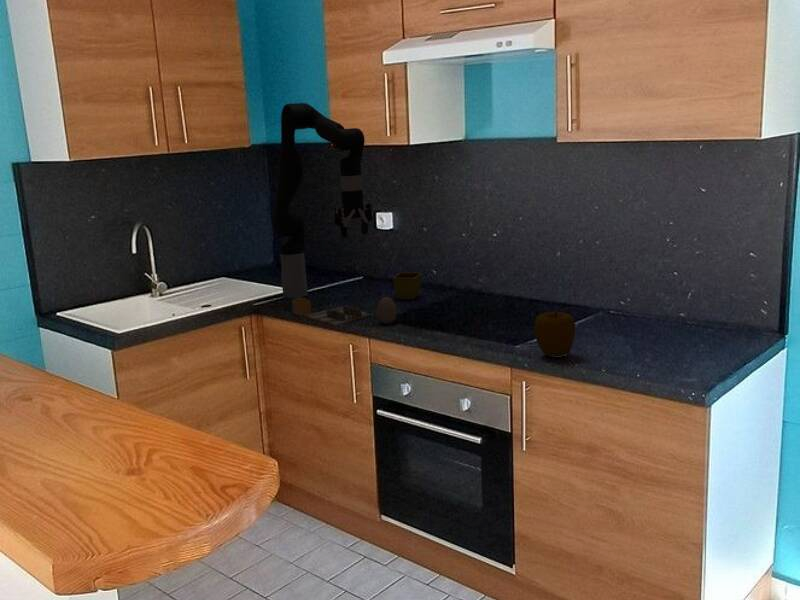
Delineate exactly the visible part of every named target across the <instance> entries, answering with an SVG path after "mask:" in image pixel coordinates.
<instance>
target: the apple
mask: <svg viewBox="0 0 800 600" xmlns="http://www.w3.org/2000/svg"><path fill="white" fill-rule="evenodd" d="M575 333H576V322H575V318H574V317H573V315H572V314H570V313H566V312H561V311H548V312H543V313H541V314H539V315H538V316H537V318H536V320H535V323H534V336H535V340H536V343H537V344H538V347H539V349H540V351H541V353H542V354H543V353H544V354H543V355H545V354H547V355H551V356H552V355H553V356H561V355H565V354H568V355H570V352H571V350H572V348H573V347H572V346H573V344H574V341H575Z"/></svg>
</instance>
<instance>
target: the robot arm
mask: <svg viewBox="0 0 800 600" xmlns="http://www.w3.org/2000/svg"><path fill="white" fill-rule="evenodd" d="M280 115H281V116H280V129H281V130H280V134H281V135H280V136H281V137H280V140H281V141H280V158H279V165H278V182H277V183H278V184H277V195H276V202H275V207H274V213H273V219H272V226H273V232H274V234H275V235H276V236H277V237H281V238H284V237H289V239H288V240H287V241H286V242H285V243H283V244H281V245H280V247H279V255H280V266H281V273H280V275H281V277H280V278H281V288H282V295H283V298H285V299H295V298H300V297H301V298H305V297H307V296H308V283H307V273H306V271H307V270H306V260H305V250H304V249H305V245H306V244H305V242H306V241H305V240H306V239H305V222H304V217H303V215H302V213H301V212H300V211H298V210H292V211H290V205H291V203H292V201H293V199H294V198H295V196H296V195H297V193H298V192H299V190H300V188H301V187H302V184H303V182H304V178H305V177H304V176H305V163H304V159H303V157H302V155H301V153H300V151H299V150H298V147H297V146H296V139H295V135H296V134H295V133H296V131H297V130H306V129H313V130H315V133H316V134H317V136H319V138H321V139H323V140H325V141H327V142H329V143H330V144H331V145H332V146H333V147H334V149H336V150H339V151H342V152H343V151H349V152H348V155H347V156H346V157H342V158H341V159H340V160H339V169H340V170H339V172H340V184H339V185H340V198H341V203H342V206H341V207H335V208H334V225H335V226H338V227H340V236H341V238H343V239H347V238H348V227H347V226H348V224H349V222H350V221H351V220H353V219H358V220H359V221H360V222H361V225H360V226H361V234H362V235H368V231H369V226H368V223H369V222H372V221H373V214H372V213H373V212H372V205H371V203H366V202H365V203H363V202H364V201H365V200H364V184H363V177H362V165H361V164H362V158H363V152H364V147H365V142H366V141H365V135H364V133H363V131H362V130H361V129H360V128H357V127H351V128H345V127H344V126H343V124H341V123H339V122H337V121H335V120H332V119H330V118H328V117H327V116H325V115H323V114H322V113H321V112H319V111H318V109H316V108H315V107H313V106H312V105H310V104H309V103H305V102H296V103H286V104H284V106H283V107H282V109H281V114H280ZM363 211H364V212H363Z"/></svg>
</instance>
